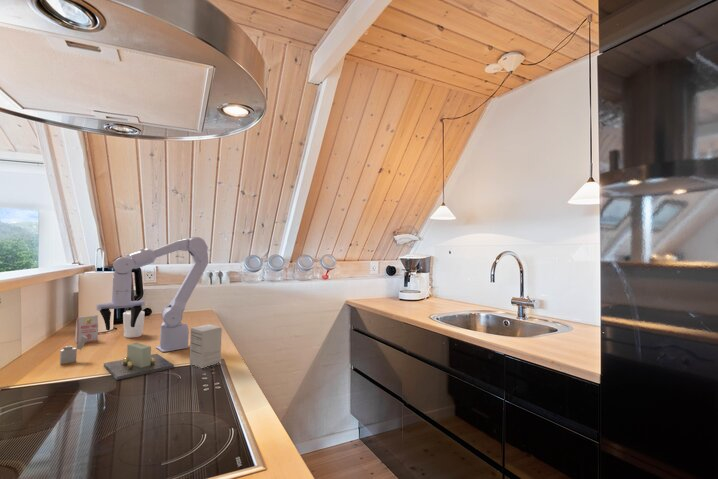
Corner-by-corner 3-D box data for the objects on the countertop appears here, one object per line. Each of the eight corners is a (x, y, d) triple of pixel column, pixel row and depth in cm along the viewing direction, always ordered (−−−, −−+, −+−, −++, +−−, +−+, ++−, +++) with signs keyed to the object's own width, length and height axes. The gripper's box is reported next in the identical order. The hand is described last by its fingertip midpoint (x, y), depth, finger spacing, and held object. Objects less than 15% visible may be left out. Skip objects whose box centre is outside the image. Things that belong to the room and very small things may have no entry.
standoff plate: (156, 356, 131) (157, 348, 131) (173, 367, 120) (174, 358, 120) (103, 366, 119) (103, 357, 119) (116, 380, 108) (117, 369, 108)
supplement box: (208, 359, 130) (209, 323, 130) (221, 364, 125) (222, 327, 125) (188, 364, 124) (190, 327, 124) (201, 369, 119) (202, 330, 119)
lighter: (60, 364, 120) (61, 339, 120) (59, 362, 121) (60, 338, 121) (87, 359, 125) (88, 336, 125) (86, 358, 126) (87, 335, 126)
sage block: (136, 360, 123) (136, 342, 123) (150, 365, 119) (151, 346, 119) (126, 362, 120) (127, 344, 120) (141, 367, 116) (142, 348, 117)
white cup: (127, 339, 152) (128, 315, 152) (118, 335, 156) (119, 312, 156) (147, 335, 158) (148, 312, 158) (138, 332, 163) (139, 310, 163)
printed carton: (75, 341, 146) (76, 316, 146) (95, 338, 151) (96, 314, 151) (76, 343, 143) (77, 318, 143) (97, 340, 148) (98, 316, 148)
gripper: (140, 287, 140) (139, 323, 140) (95, 290, 129) (93, 329, 129) (147, 290, 135) (145, 326, 135) (99, 293, 125) (98, 332, 125)
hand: (120, 328), depth 132 cm, fingers open, 7 cm apart
